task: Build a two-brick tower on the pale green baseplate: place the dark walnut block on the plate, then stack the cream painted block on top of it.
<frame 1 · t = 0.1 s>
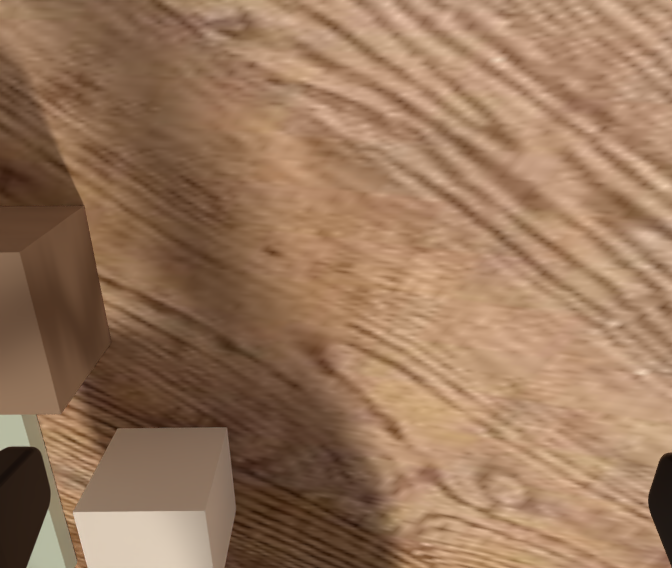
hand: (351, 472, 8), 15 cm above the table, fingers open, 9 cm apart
walnut block: (25, 277, 23), on the table
cream block: (179, 469, 27), on the table
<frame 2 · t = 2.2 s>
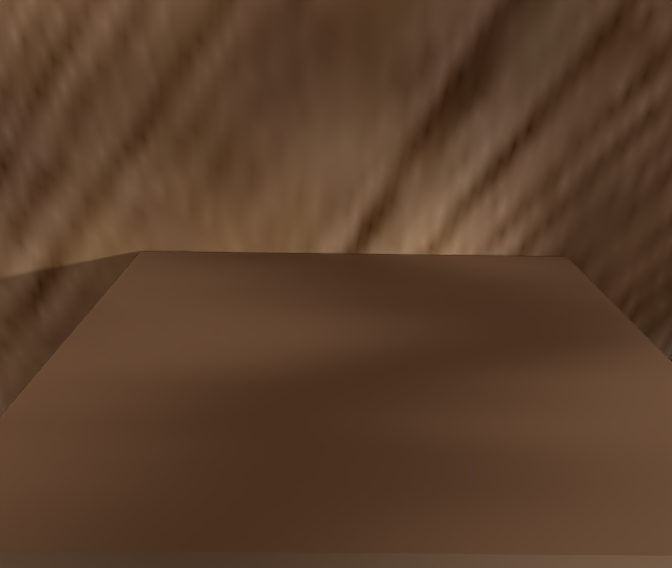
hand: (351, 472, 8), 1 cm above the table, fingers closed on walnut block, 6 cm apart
walnut block: (349, 426, 9), on the table, touching gripper
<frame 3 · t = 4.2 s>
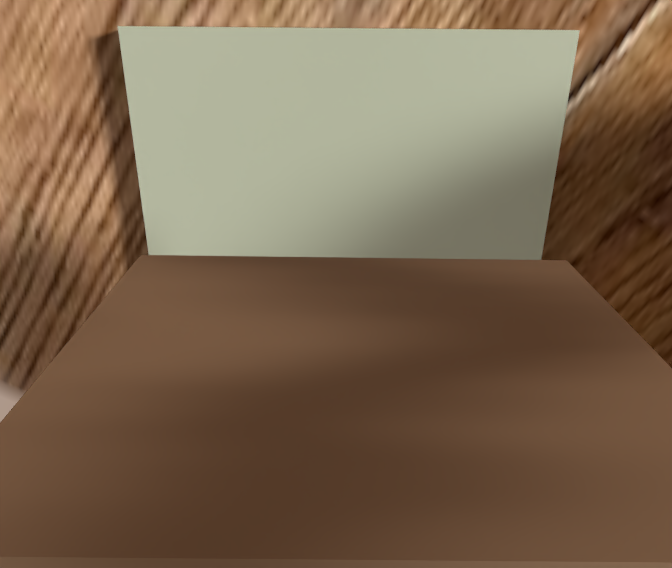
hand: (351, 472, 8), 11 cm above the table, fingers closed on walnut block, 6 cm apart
walnut block: (349, 429, 9), point 10 cm above the table, touching gripper
baseplate: (345, 234, 18), on the table
when the fingers open (3 cm above the table, at t = 6.1 s): walnut block stays where it is, resting on baseplate.
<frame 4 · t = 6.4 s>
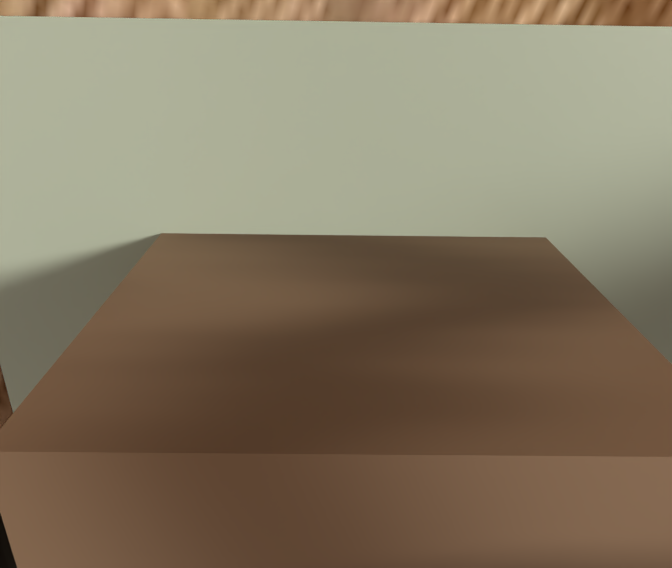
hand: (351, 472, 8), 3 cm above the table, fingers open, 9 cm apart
walnut block: (349, 395, 10), point 1 cm above the table, touching baseplate
baseplate: (345, 363, 11), on the table
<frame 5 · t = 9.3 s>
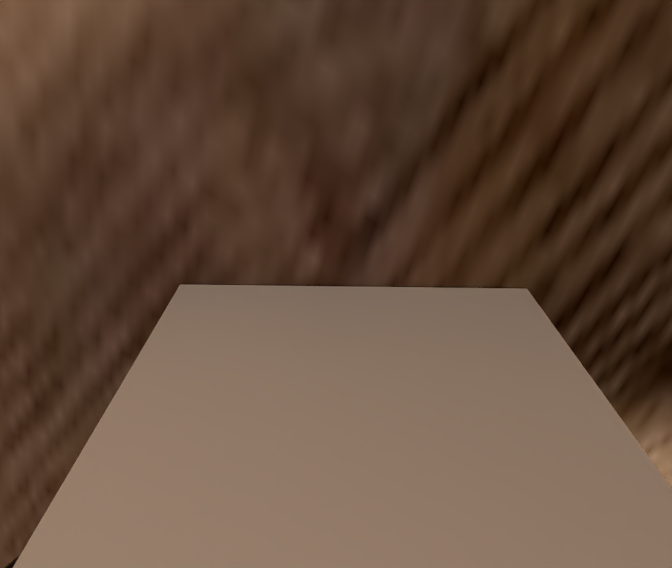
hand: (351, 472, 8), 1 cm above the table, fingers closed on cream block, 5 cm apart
cream block: (349, 426, 9), on the table, touching gripper
when the fingers open (8 cm above the table, at t = 12.5 s): cream block stays where it is, resting on walnut block.
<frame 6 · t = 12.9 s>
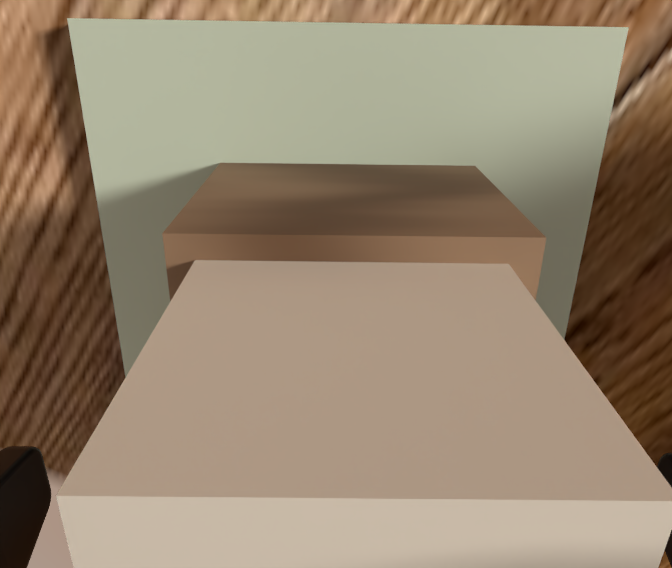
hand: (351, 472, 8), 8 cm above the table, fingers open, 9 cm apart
walnut block: (345, 280, 15), point 1 cm above the table, touching baseplate, cream block
cream block: (348, 392, 10), point 6 cm above the table, touching walnut block
baseplate: (342, 264, 16), on the table
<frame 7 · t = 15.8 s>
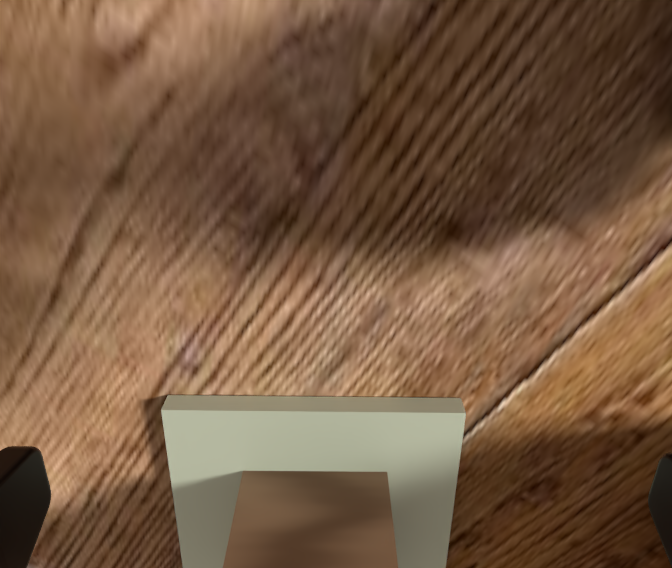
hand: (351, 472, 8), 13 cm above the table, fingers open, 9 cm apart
walnut block: (315, 524, 25), point 1 cm above the table, touching baseplate, cream block
baseplate: (314, 506, 26), on the table
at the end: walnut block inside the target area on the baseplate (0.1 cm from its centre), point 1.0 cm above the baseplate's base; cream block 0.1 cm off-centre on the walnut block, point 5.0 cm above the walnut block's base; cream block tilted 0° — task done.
